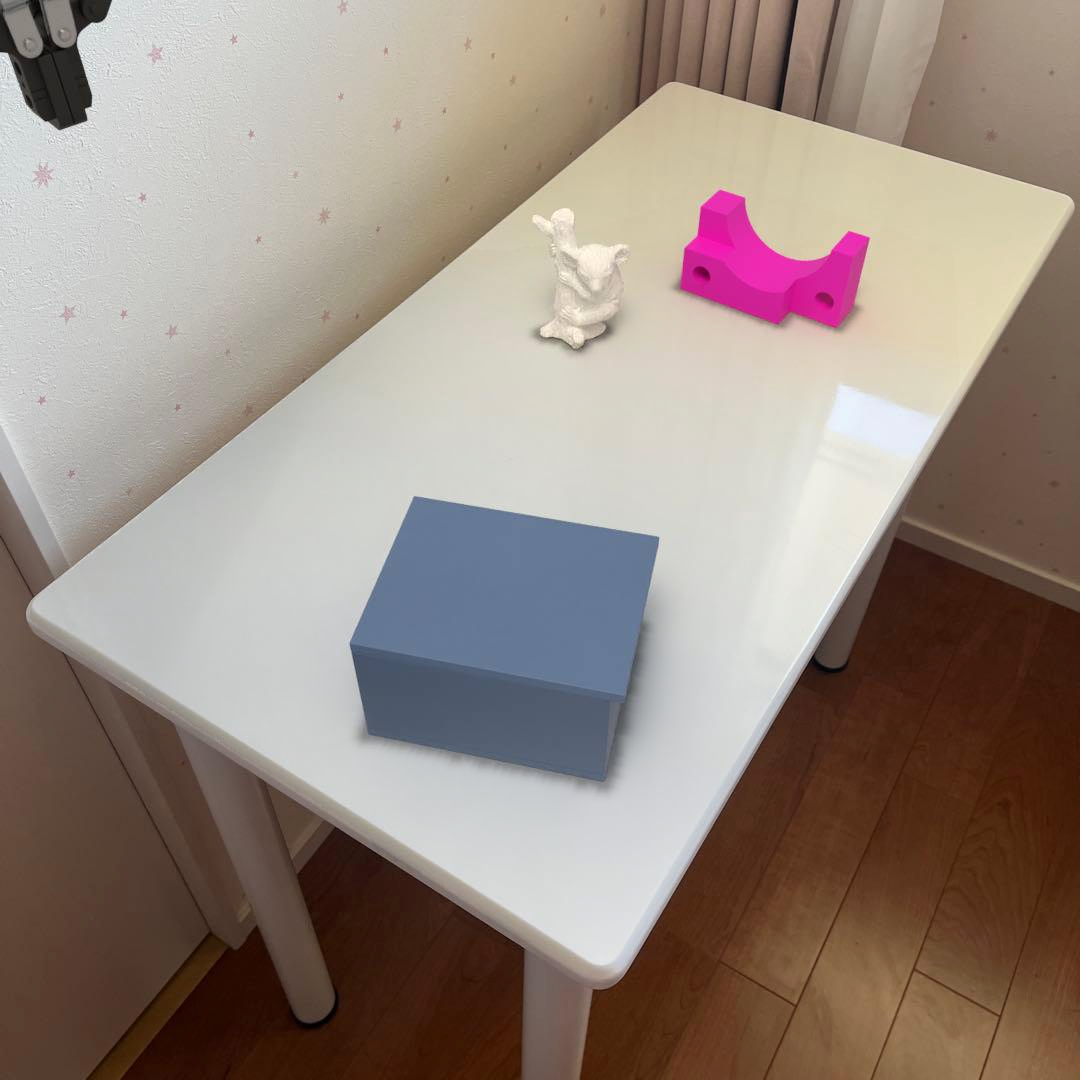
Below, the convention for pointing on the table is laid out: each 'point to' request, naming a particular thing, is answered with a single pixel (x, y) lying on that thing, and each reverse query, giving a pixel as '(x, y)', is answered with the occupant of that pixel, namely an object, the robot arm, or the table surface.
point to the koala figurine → (581, 281)
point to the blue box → (487, 716)
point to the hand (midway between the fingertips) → (65, 120)
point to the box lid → (511, 598)
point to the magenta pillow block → (768, 269)
